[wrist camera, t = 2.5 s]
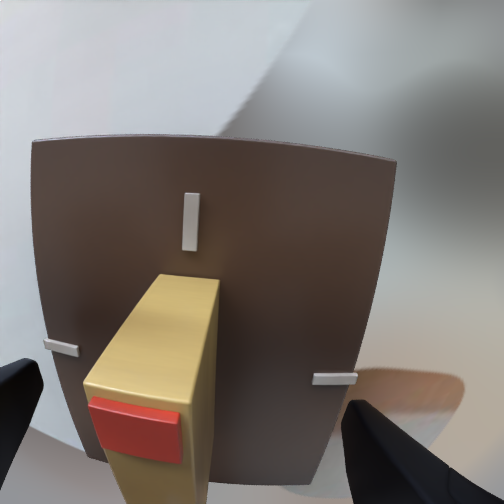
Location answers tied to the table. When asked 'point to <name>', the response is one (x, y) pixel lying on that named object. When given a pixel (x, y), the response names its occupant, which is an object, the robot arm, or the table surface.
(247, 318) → the panel
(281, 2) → the table surface
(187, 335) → the golden tan block
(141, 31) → the table surface
